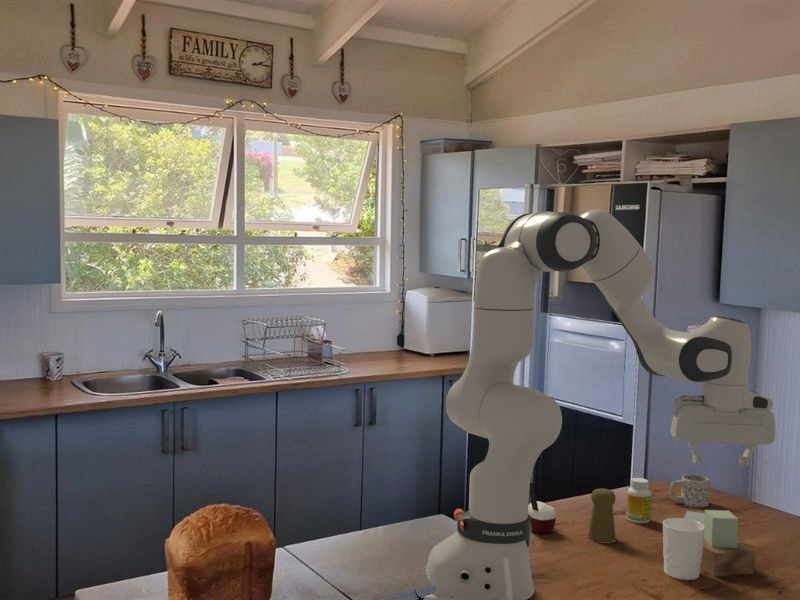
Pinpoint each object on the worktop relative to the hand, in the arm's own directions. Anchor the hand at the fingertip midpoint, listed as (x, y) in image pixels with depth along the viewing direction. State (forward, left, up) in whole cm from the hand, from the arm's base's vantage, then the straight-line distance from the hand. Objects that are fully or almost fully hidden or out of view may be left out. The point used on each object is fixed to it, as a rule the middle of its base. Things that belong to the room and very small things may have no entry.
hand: (720, 464), depth 166 cm
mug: (+9, +41, -21) cm, 47 cm away
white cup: (-9, -5, -21) cm, 23 cm away
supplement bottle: (-8, +27, -21) cm, 35 cm away
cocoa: (-33, +18, -21) cm, 43 cm away
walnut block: (+1, -1, -21) cm, 21 cm away
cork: (-20, +14, -21) cm, 32 cm away
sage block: (+1, 0, -16) cm, 16 cm away
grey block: (+3, +14, -21) cm, 26 cm away
